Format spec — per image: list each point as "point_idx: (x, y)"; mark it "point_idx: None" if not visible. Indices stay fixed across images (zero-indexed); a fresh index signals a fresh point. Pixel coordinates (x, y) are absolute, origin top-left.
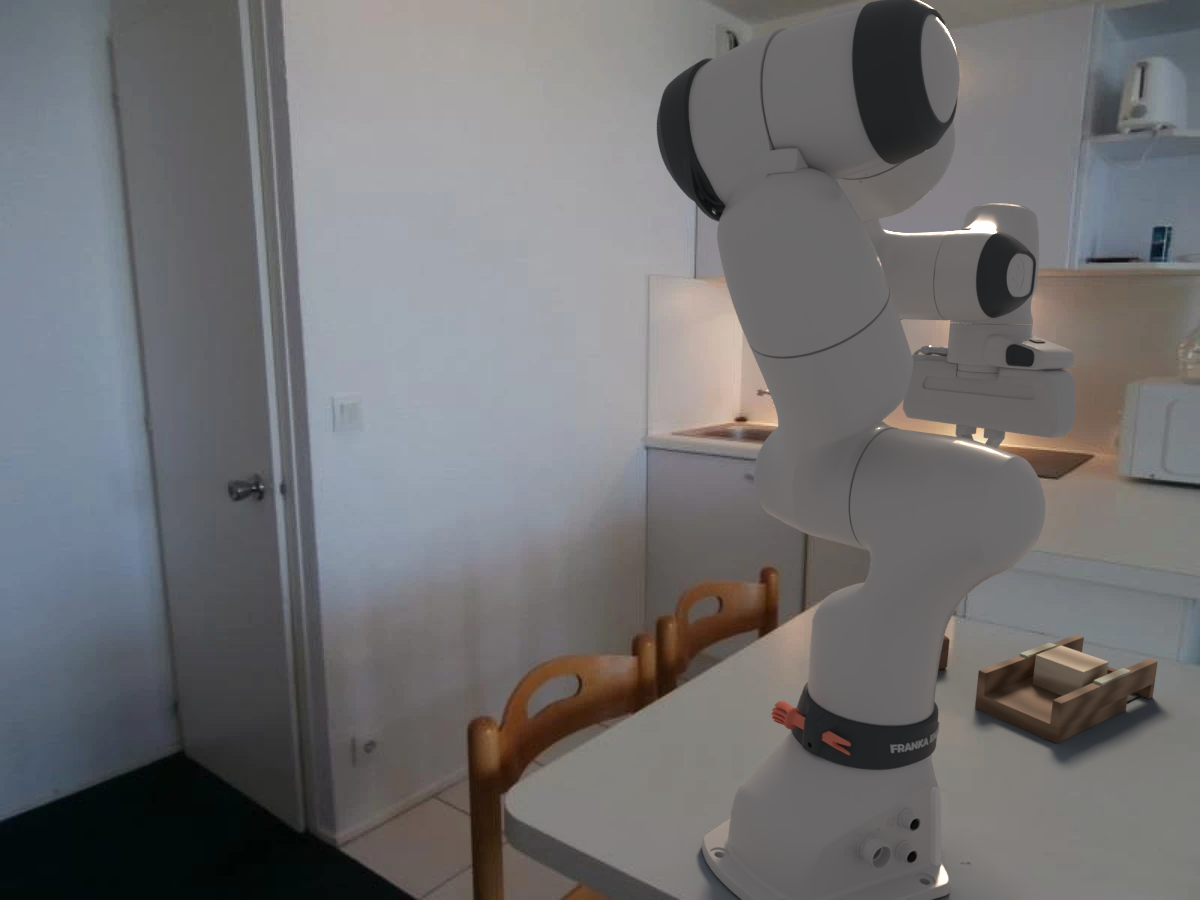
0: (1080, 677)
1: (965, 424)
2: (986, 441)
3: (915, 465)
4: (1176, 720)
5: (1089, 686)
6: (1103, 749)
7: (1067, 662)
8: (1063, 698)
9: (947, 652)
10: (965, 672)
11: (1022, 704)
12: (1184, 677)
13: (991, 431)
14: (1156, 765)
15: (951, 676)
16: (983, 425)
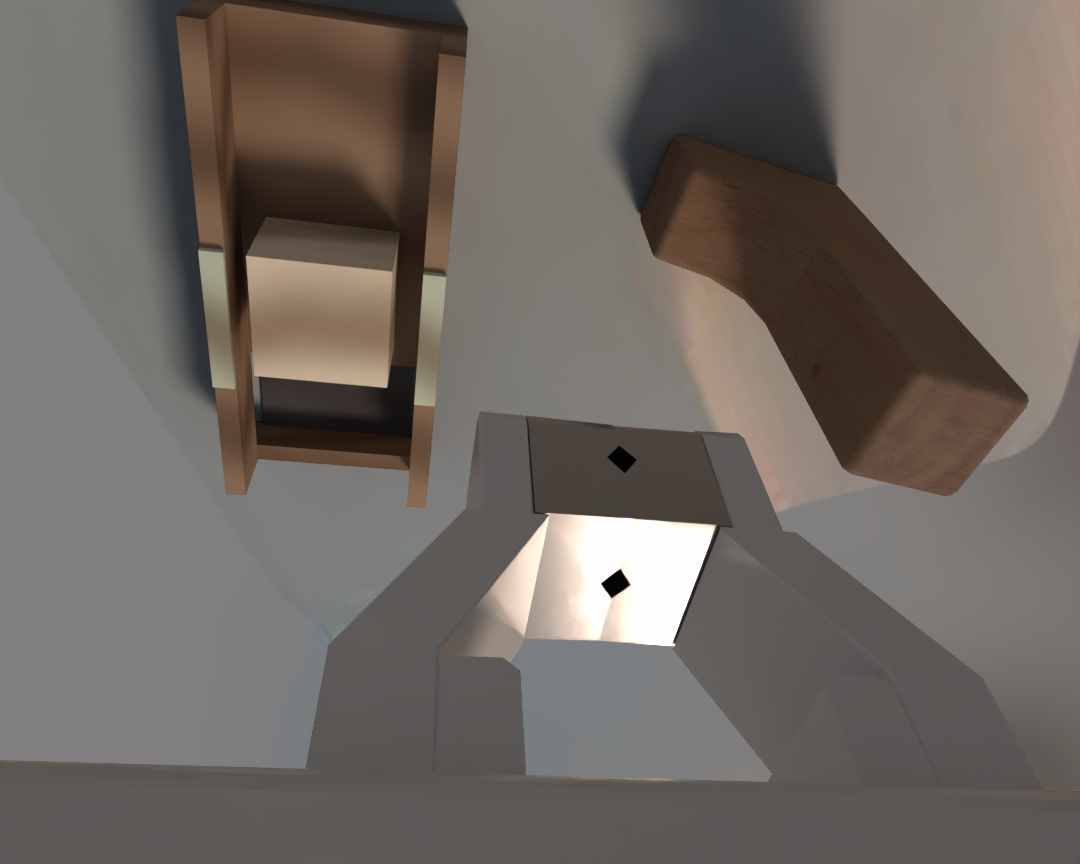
0: (257, 248)
1: (890, 796)
2: (464, 619)
3: None
4: (153, 364)
5: (213, 214)
6: (133, 67)
7: (309, 286)
8: (196, 61)
9: (647, 233)
10: (593, 235)
11: (344, 74)
12: (269, 565)
13: (375, 766)
14: (18, 88)
15: (608, 180)
16: (487, 813)
